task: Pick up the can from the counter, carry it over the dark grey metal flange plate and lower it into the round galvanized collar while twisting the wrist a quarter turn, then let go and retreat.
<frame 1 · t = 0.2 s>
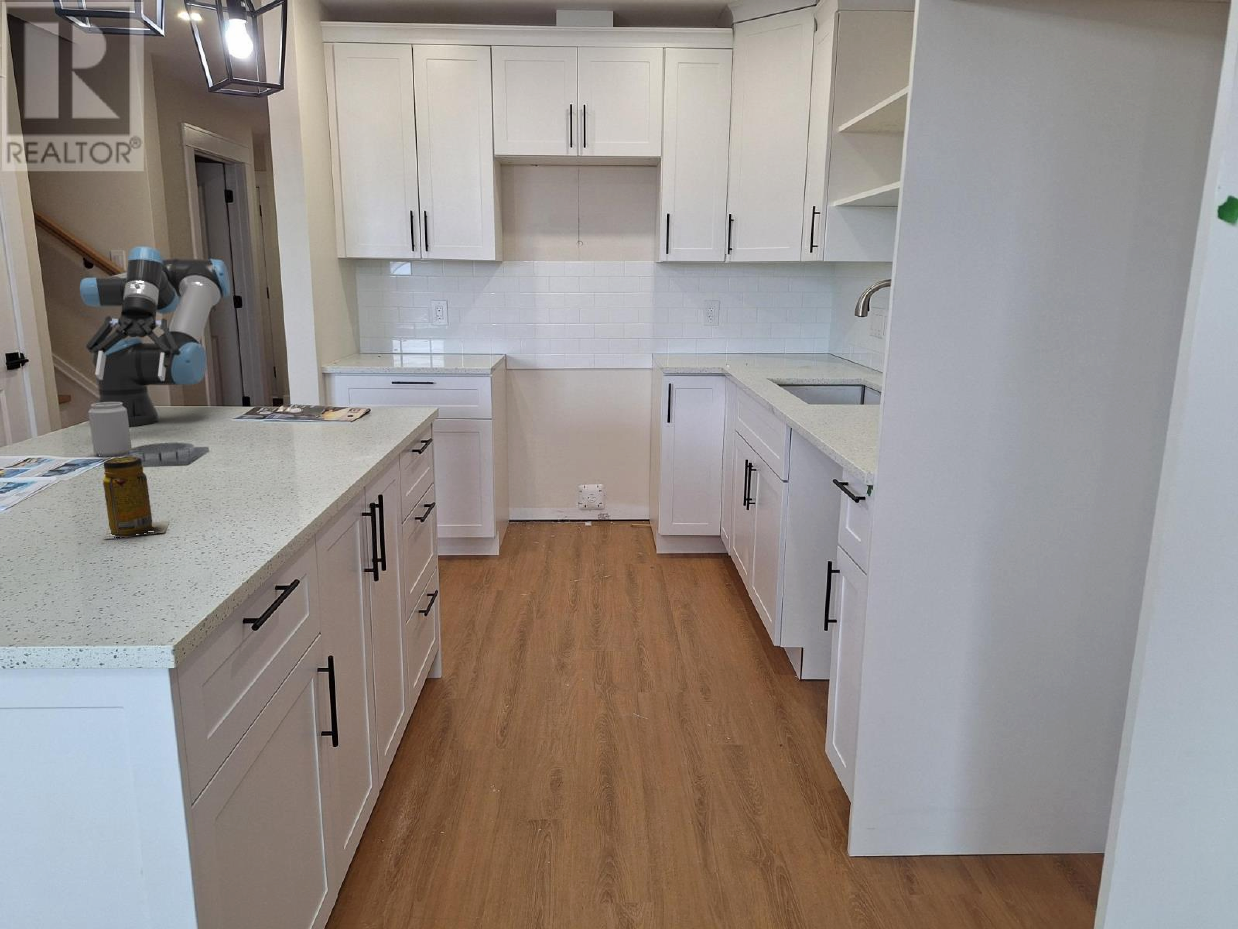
hand: (130, 377, 196), 16 cm above the countertop, tool tilted 35°, fingers open, 13 cm apart
can: (113, 454, 186), on the countertop
condiment: (138, 532, 131), on the countertop
duct flange: (163, 458, 182), on the countertop
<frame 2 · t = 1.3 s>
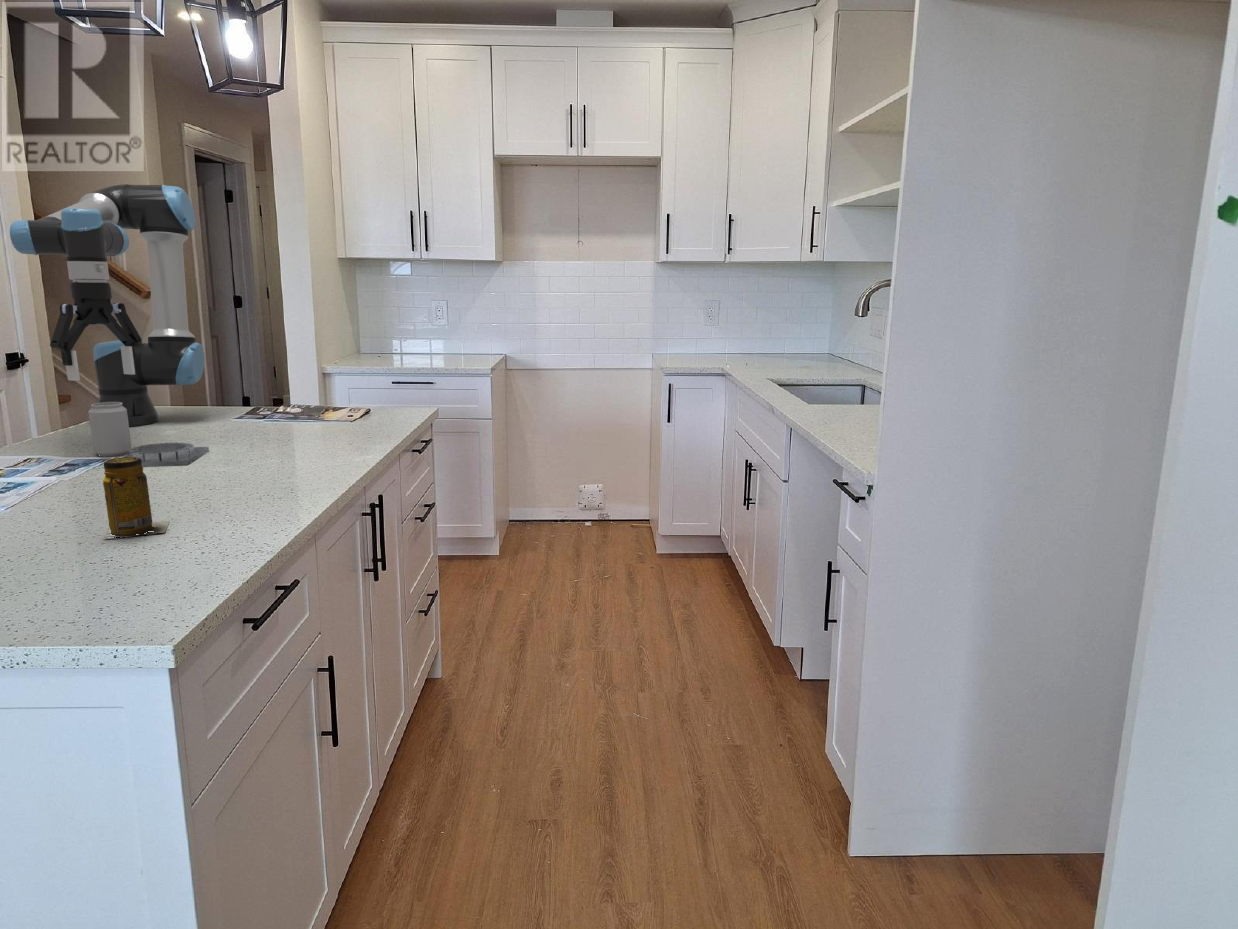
hand: (102, 377, 182), 18 cm above the countertop, tool pointing down, fingers open, 13 cm apart
nothing on the countertop moved.
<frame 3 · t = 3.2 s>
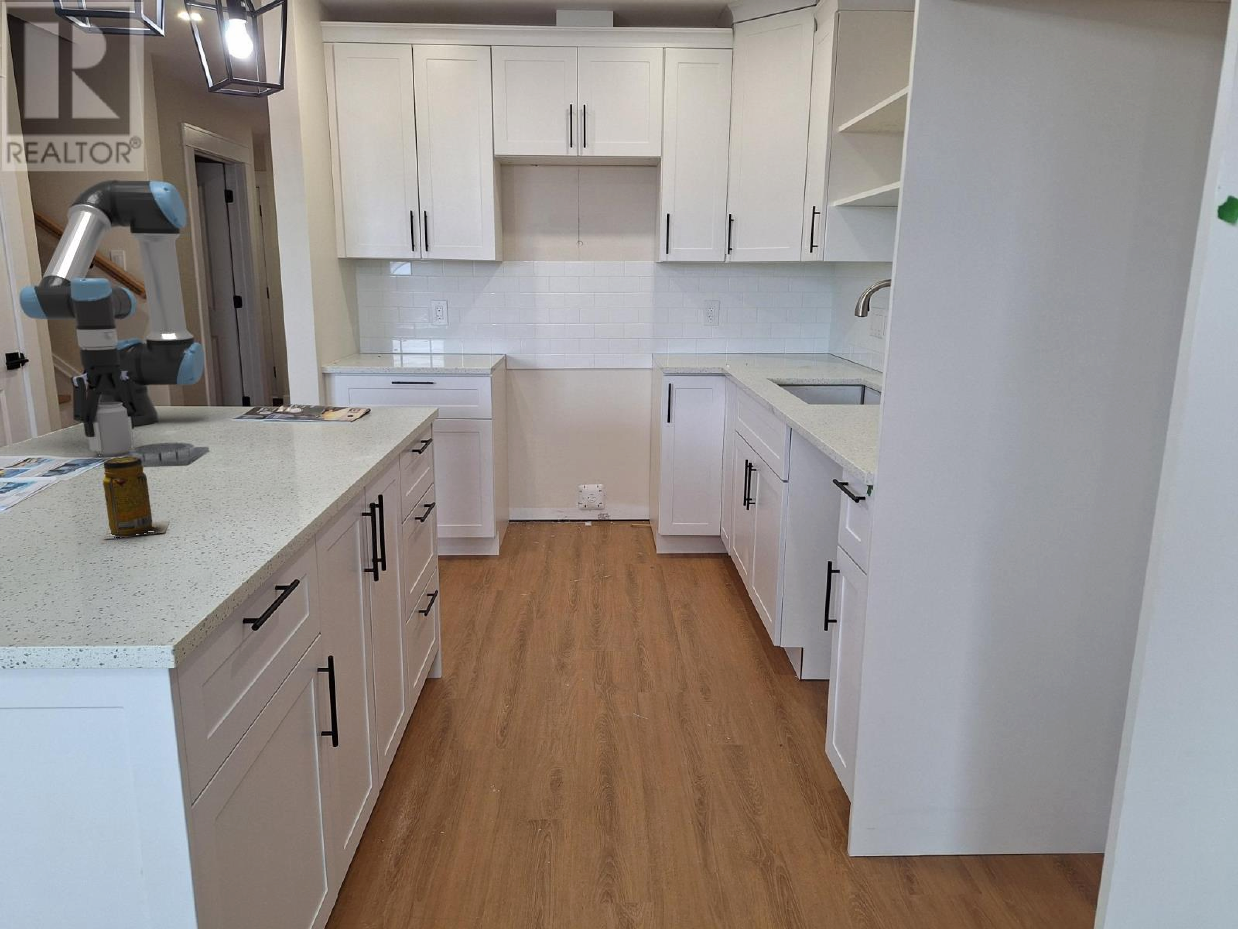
hand: (112, 446, 186), 2 cm above the countertop, tool pointing down, fingers closed on can, 7 cm apart
can: (113, 454, 186), on the countertop, touching gripper
everything else where it was.
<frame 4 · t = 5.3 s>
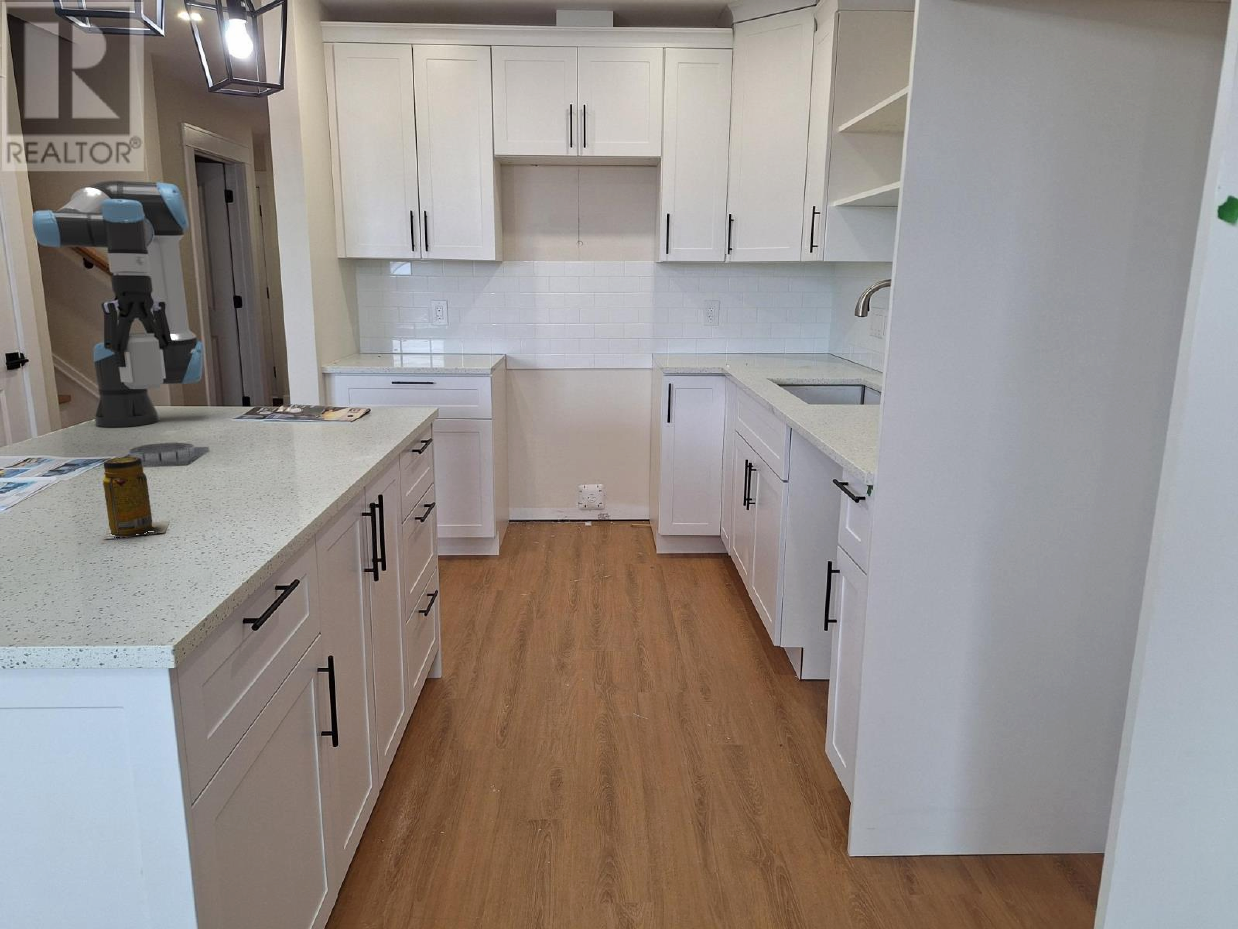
hand: (143, 379, 178), 18 cm above the countertop, tool pointing down, fingers closed on can, 7 cm apart
can: (144, 388, 178), point 16 cm above the countertop, touching gripper
everything else where it was.
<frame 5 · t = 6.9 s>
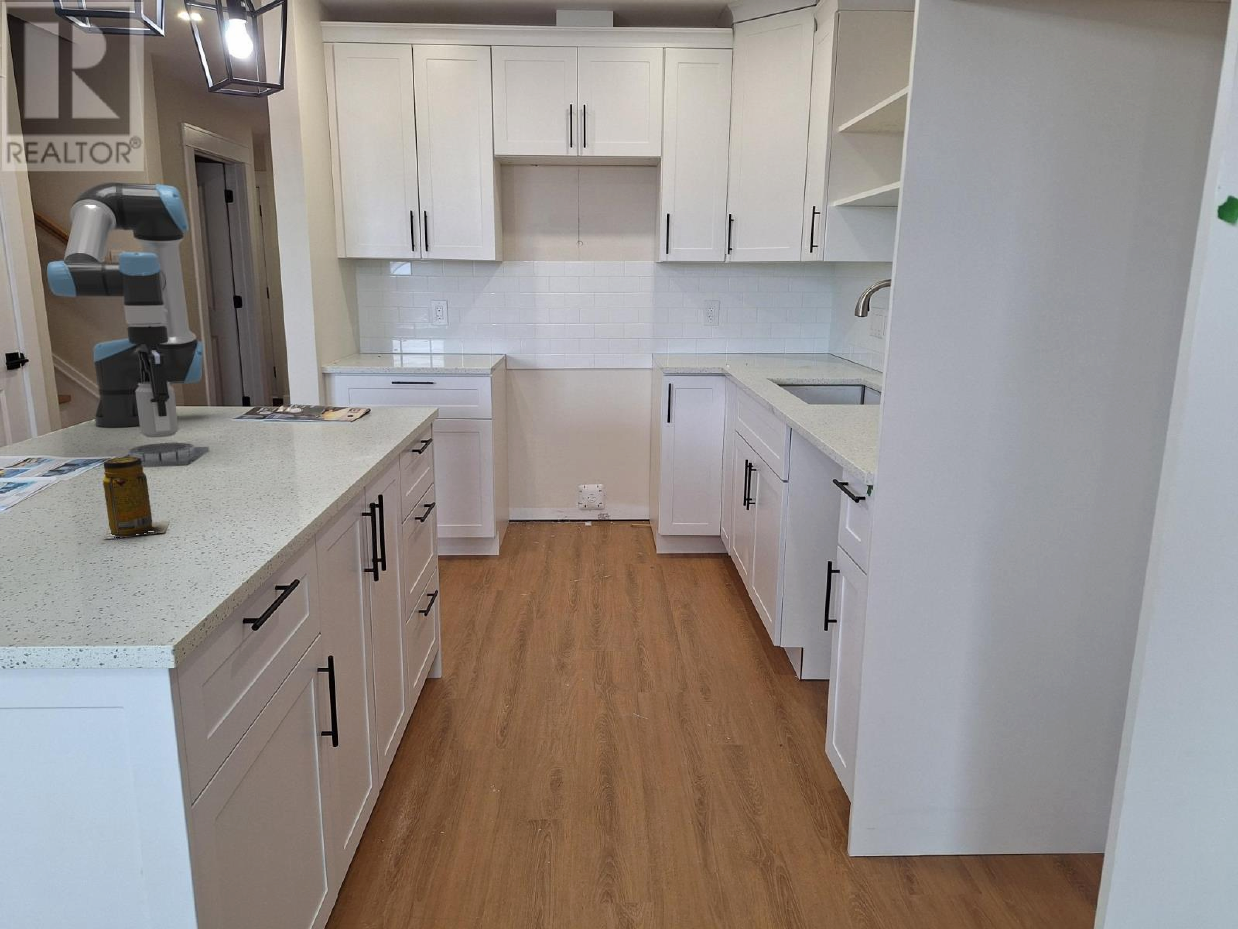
hand: (159, 427, 180), 7 cm above the countertop, tool pointing down, fingers closed on can, 7 cm apart
can: (160, 435, 181), point 5 cm above the countertop, touching gripper
everything else where it was.
when the fingers open (5 cm above the countertop, at t = 7.7 s): can drops 2 cm, resting on duct flange.
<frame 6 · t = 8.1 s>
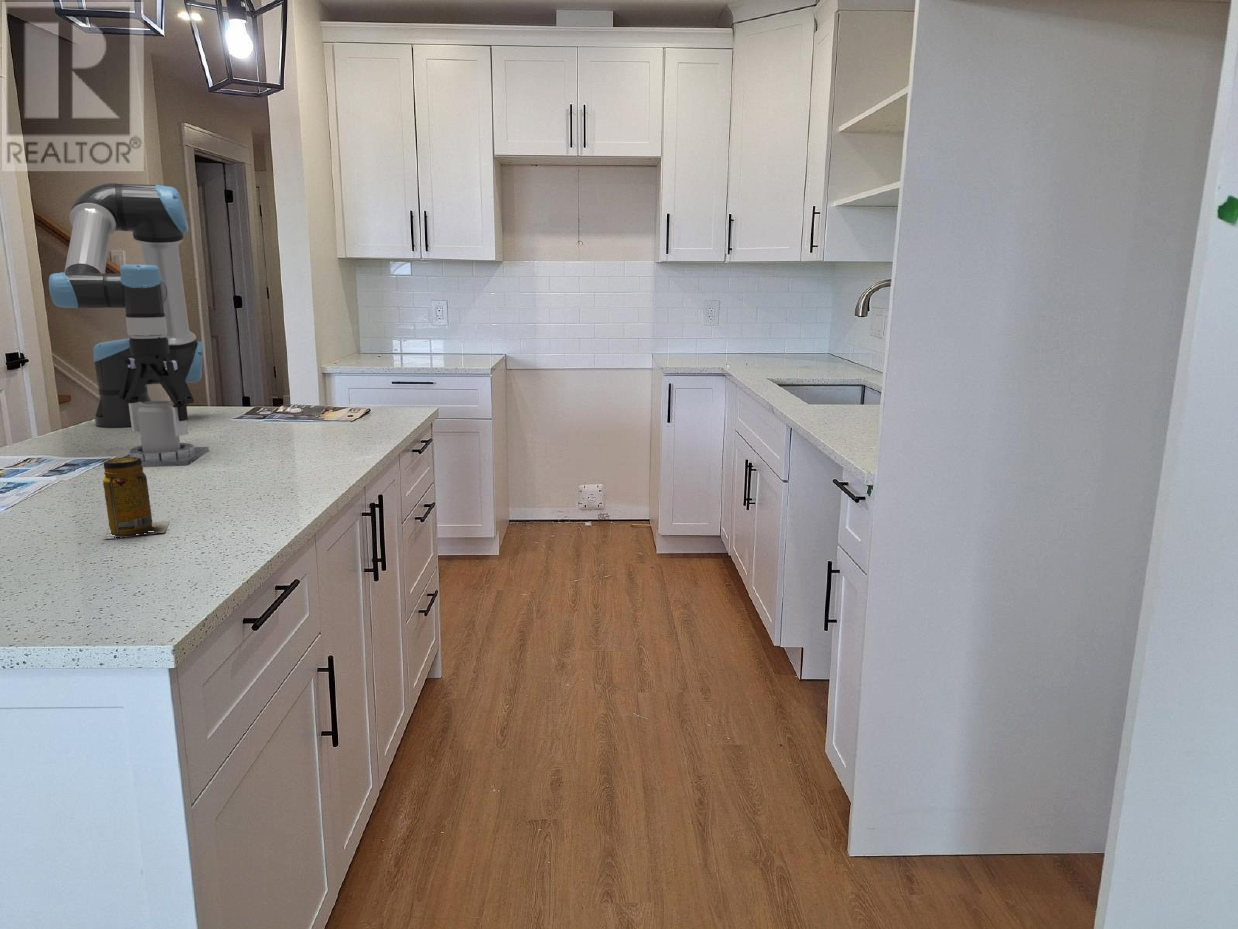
hand: (160, 433, 180), 6 cm above the countertop, tool pointing down, fingers open, 12 cm apart
can: (162, 455, 182), point 1 cm above the countertop, touching duct flange
everything else where it was.
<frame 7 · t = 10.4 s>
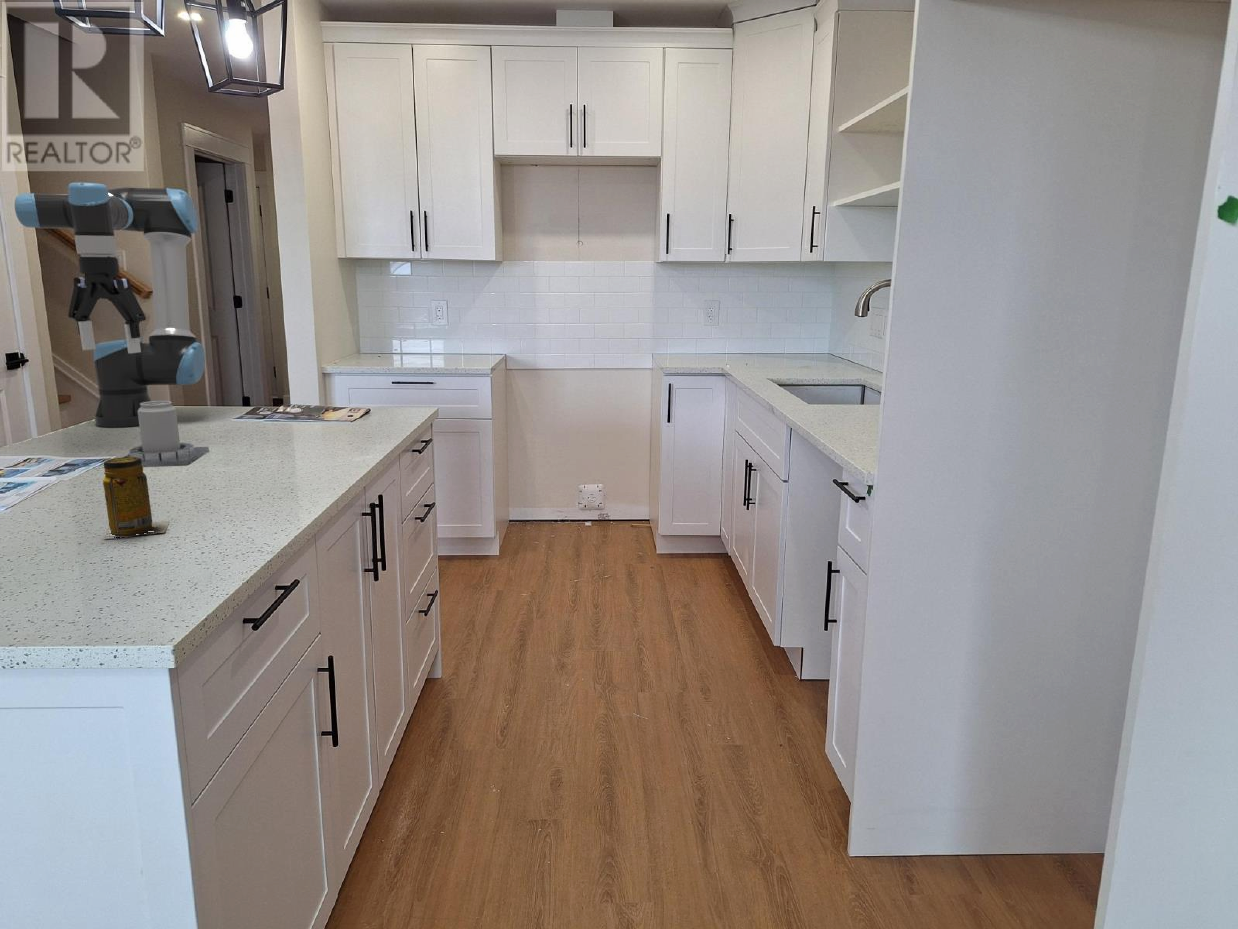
hand: (111, 351, 184), 23 cm above the countertop, tool pointing down, fingers open, 13 cm apart
nothing on the countertop moved.
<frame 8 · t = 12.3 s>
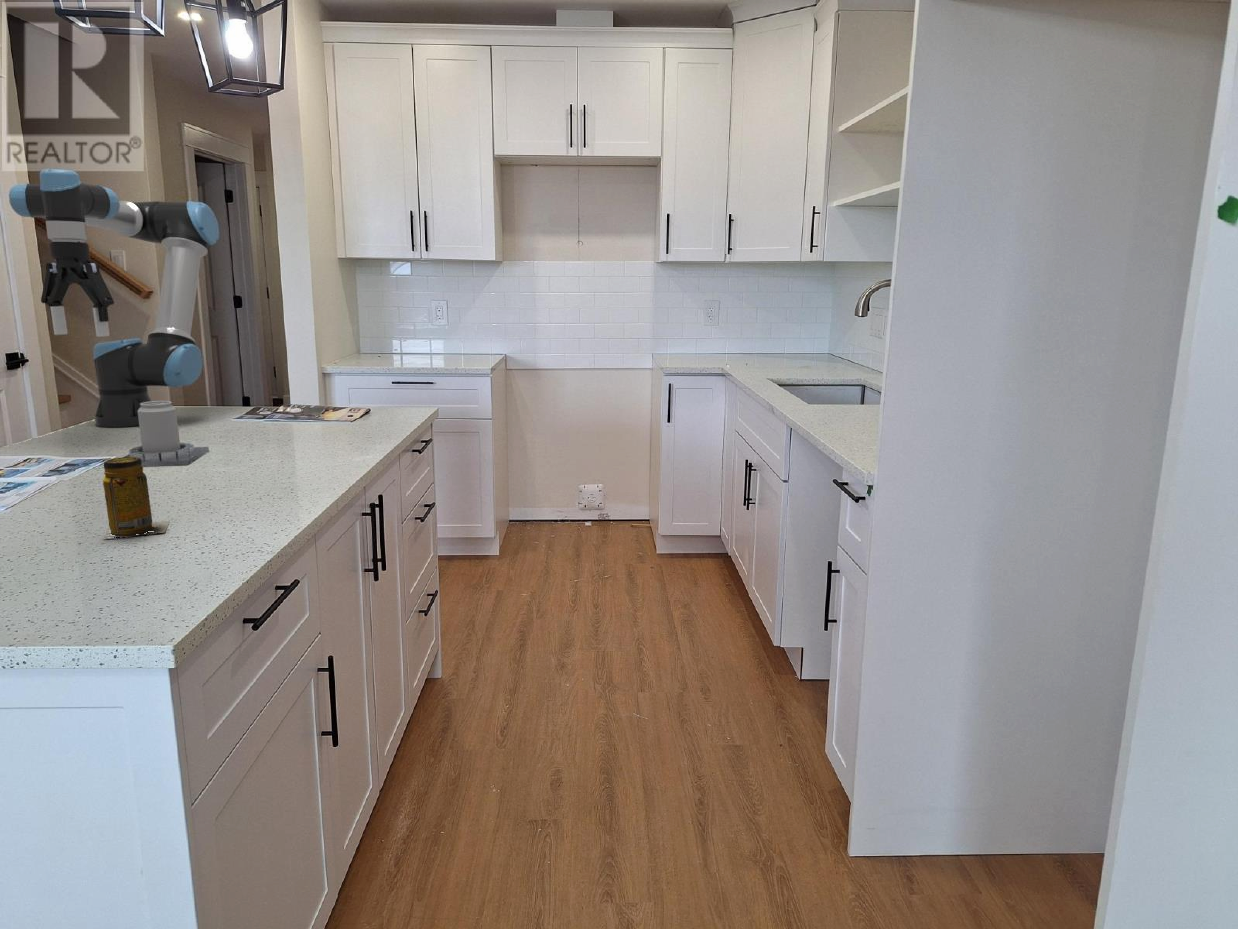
hand: (81, 335, 187), 27 cm above the countertop, tool pointing down, fingers open, 13 cm apart
nothing on the countertop moved.
at the end: can 0.2 cm from the duct flange (horizontally); can point 0.8 cm above the countertop; can tilted 0° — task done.
